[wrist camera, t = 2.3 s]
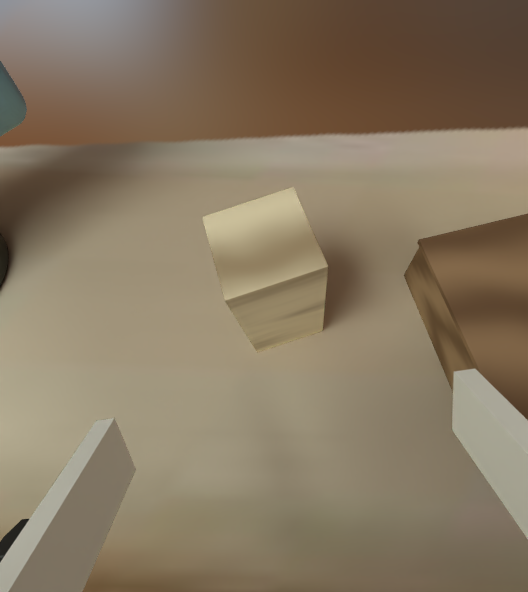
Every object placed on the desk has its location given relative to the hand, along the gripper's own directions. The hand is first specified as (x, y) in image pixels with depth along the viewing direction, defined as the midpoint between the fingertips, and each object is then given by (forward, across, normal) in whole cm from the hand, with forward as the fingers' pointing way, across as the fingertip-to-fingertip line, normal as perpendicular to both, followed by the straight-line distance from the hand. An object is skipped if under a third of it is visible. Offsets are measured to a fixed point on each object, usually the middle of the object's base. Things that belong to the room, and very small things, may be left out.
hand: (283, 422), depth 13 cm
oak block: (+18, 0, -3) cm, 18 cm away
